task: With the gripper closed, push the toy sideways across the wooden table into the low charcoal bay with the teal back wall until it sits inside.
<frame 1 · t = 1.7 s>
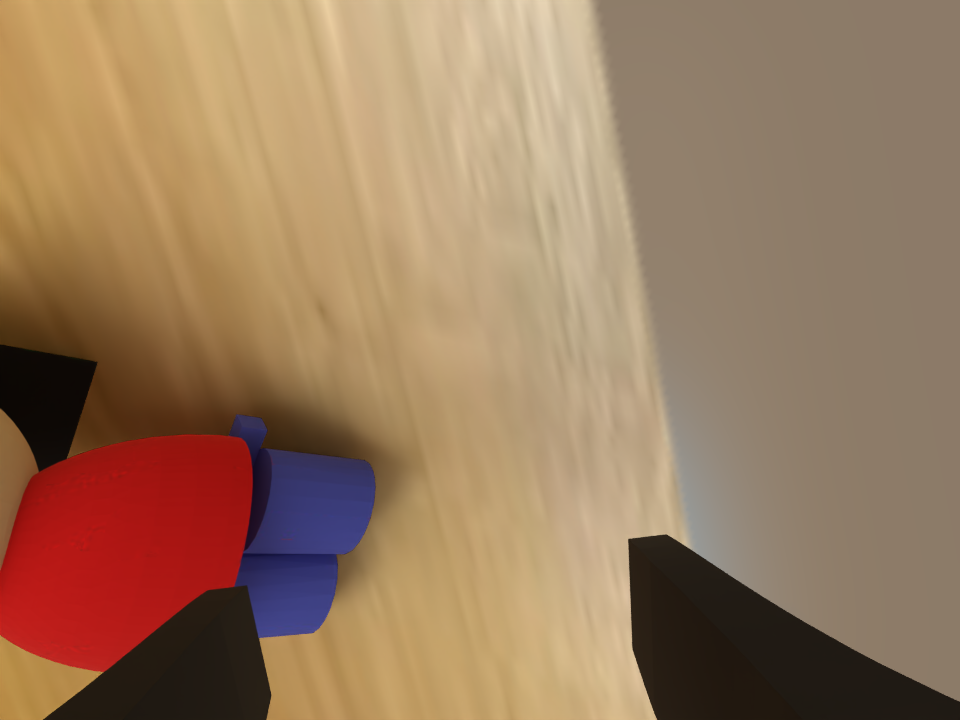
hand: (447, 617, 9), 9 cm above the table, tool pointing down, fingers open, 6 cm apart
toy: (131, 451, 18), on the table
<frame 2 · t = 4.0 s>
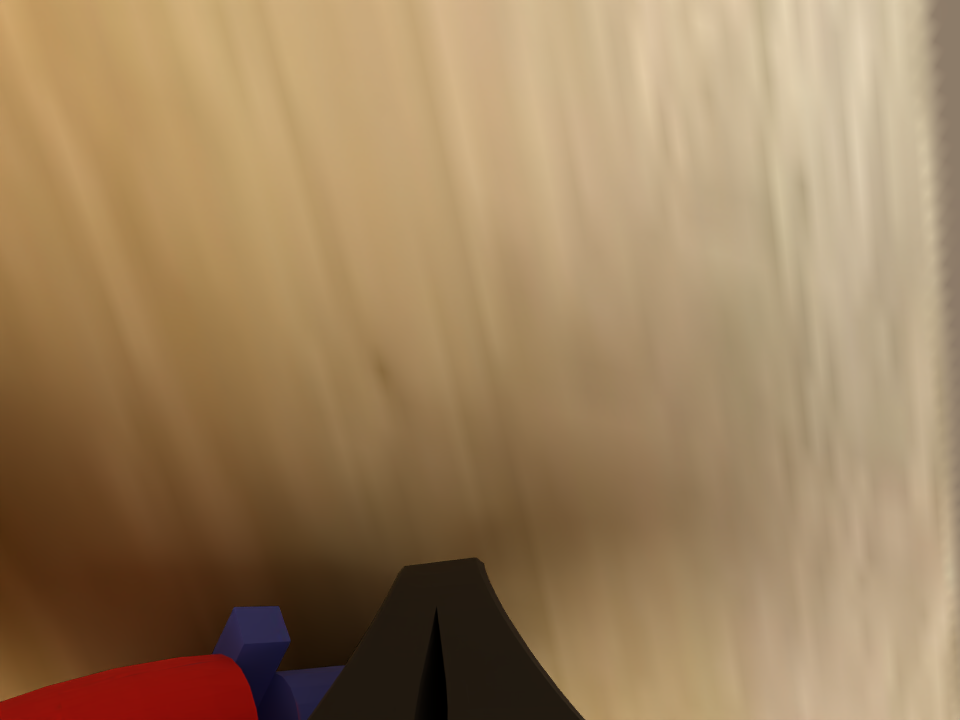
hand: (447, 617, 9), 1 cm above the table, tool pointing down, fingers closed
toy: (48, 624, 11), on the table, touching gripper
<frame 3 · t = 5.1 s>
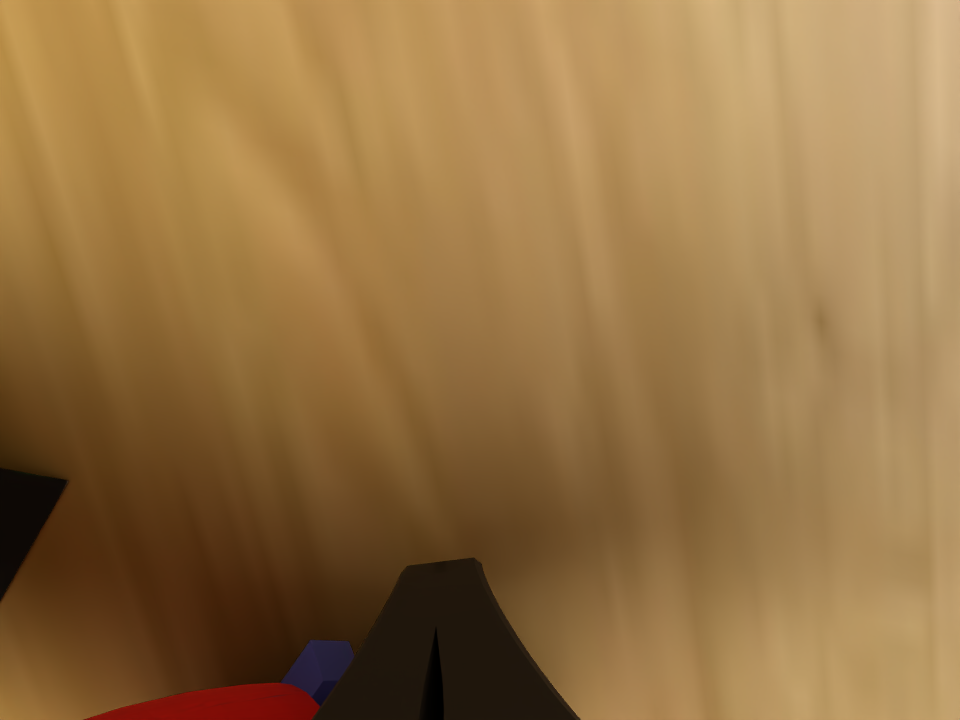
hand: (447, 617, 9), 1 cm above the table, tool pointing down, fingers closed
toy: (99, 625, 11), on the table, touching gripper
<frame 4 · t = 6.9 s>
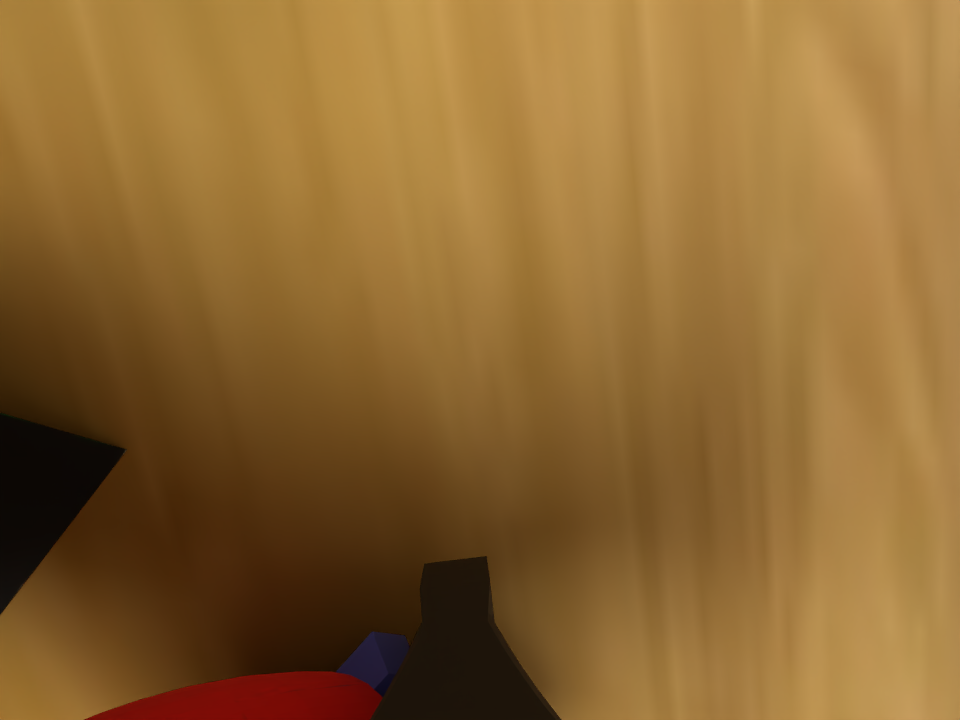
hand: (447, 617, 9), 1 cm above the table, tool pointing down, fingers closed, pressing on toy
toy: (135, 599, 10), on the table, touching bay, gripper
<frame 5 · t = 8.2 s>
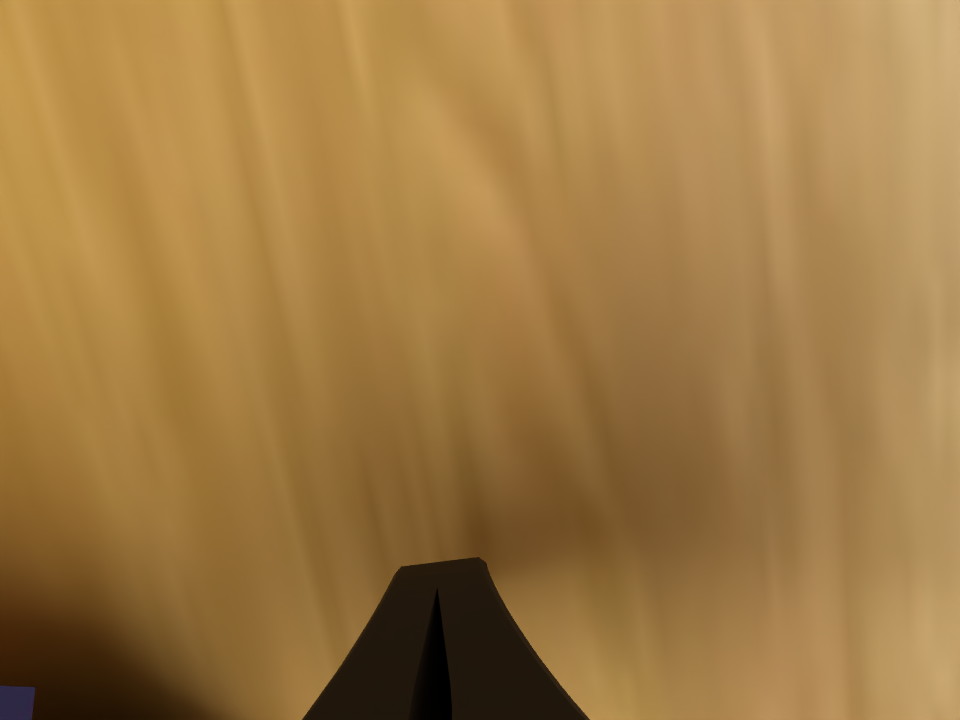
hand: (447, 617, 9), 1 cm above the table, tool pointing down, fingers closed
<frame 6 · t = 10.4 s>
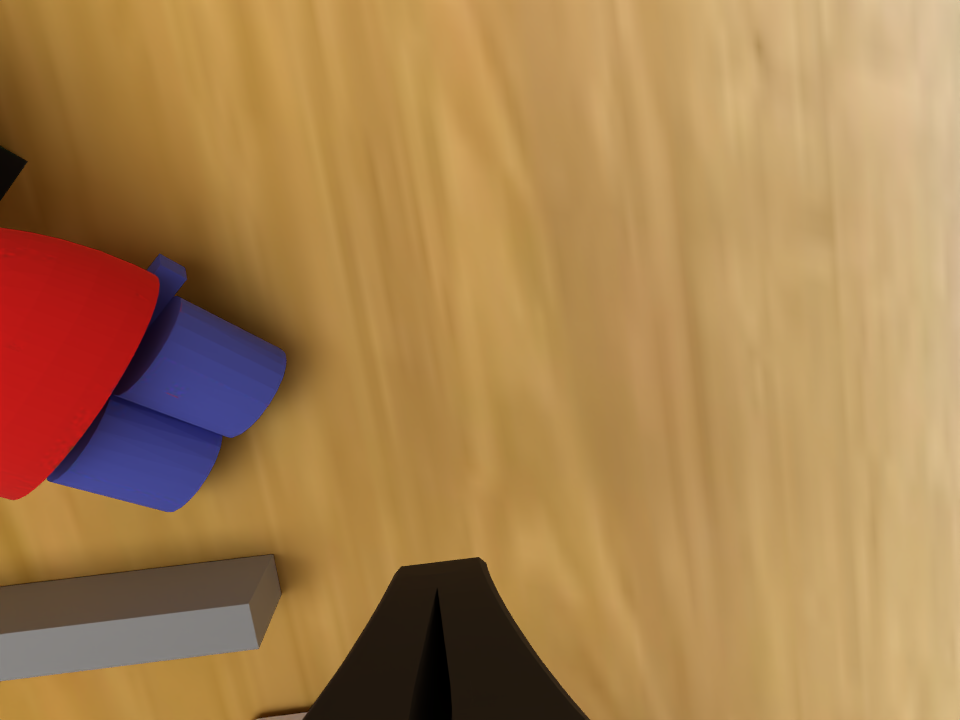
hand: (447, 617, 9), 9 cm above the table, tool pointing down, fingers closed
toy: (36, 269, 17), on the table
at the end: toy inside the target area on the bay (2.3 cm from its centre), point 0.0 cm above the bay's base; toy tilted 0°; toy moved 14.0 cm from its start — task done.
